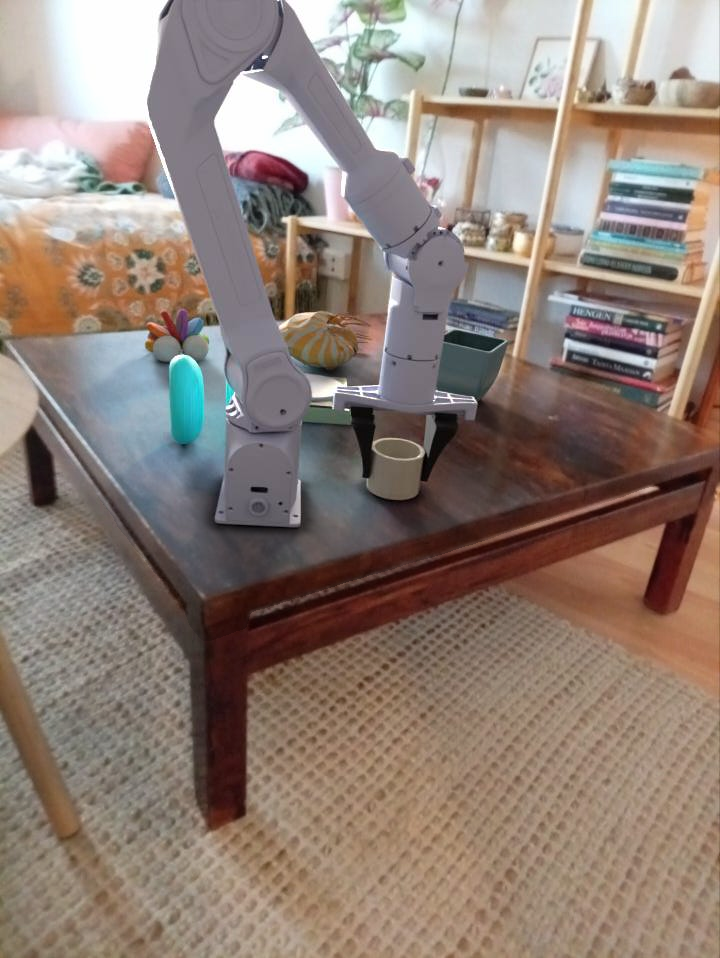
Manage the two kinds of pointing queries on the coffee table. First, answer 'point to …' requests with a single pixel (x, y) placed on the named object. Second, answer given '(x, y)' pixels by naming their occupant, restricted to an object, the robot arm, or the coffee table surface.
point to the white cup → (395, 468)
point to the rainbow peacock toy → (177, 338)
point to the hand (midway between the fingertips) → (394, 475)
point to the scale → (325, 401)
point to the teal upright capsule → (187, 399)
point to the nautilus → (321, 339)
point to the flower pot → (469, 363)
